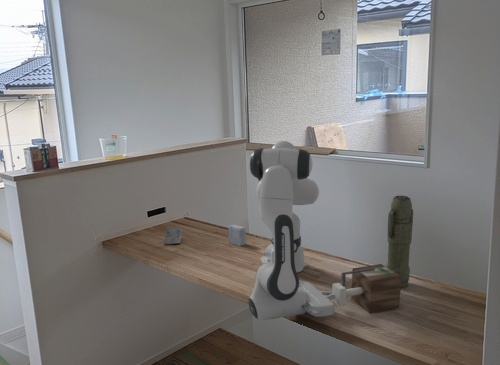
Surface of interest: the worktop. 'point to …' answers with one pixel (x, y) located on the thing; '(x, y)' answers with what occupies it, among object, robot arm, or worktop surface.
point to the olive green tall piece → (400, 237)
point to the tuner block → (377, 288)
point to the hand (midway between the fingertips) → (333, 295)
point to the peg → (343, 292)
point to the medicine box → (236, 235)
